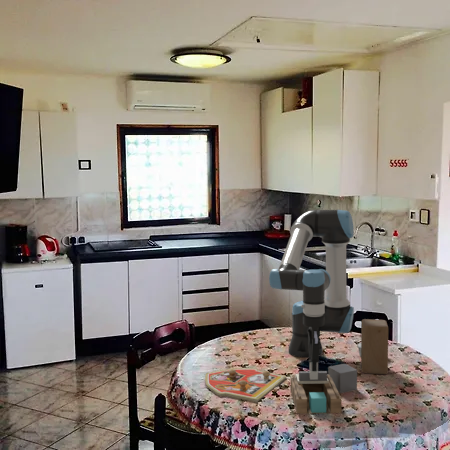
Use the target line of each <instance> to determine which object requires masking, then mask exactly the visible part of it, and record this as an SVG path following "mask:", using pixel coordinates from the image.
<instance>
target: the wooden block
mask: <svg viewBox="0 0 450 450" xmlns="http://www.w3.org/2000/svg"><path fill="white" fill-rule="evenodd" d="M360 326H361V331H360V333H361V337H360V338H361V340H360V343H361V357H360V366H361V372H362V373H363V374H370V375H388V372H389V366H388V365H389V326H388V323H387V320H385V319H369V318H367V319H366V318H364V319H362V320H361V325H360Z"/></svg>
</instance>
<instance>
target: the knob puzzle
mask: <svg viewBox="0 0 450 450" xmlns="http://www.w3.org/2000/svg"><path fill="white" fill-rule="evenodd" d="M286 379H287V376H286V375H283V374H278V373H272V372H270V371H268V370H264V371H263V370H259V369H258V368H253V367H252V368H248V367H247V368H244V367H243V368H227V369H219V370H216V371H214V370H213V371H211V372H206V373H205V377H204V383H206V384H205V387H206V386H207V387H206V388H207V389H208V388H209V389H210V390H211V391H210V390H209V389H208V390H209V391H210V392H212V391H213V392H214V393H215V394H214V393H213V392H212V393H213V394H214V395H216V396H217V395H218V396H217V397H220V396H224V397H227V396H228V398H232V397H233V398H232V399H237V400H241V399H242V401H248V402H251V403H257V404H258V403H259V401H260V400H262V399H263V398H264V397H265V396H266V395H268V394H269V393H270V392H271V391H272V390H273V389H274V388H276V387H278V386H280V384H282V383H283V382H284V381H285V380H286Z"/></svg>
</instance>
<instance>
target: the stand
mask: <svg viewBox="0 0 450 450" xmlns="http://www.w3.org/2000/svg"><path fill="white" fill-rule="evenodd" d="M327 369H328V370H327V375H330V377H331V378H332V380H333V382H334V384H335V386H336V388H337V390H338V393H339V394H343V393H348V392H352V391H357V390H358V369H356V368H354V367H352V366H350V365H349V364H347V363H341V364H337V365H331V366H328V367H327Z"/></svg>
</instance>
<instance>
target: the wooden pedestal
mask: <svg viewBox="0 0 450 450" xmlns="http://www.w3.org/2000/svg"><path fill="white" fill-rule="evenodd" d="M327 378H328V380H329V383H324V384H298V382H297V379H296V374H295V375H294V374H293V375H292V377H290V394H291V397H292V401H293V405H294V408H295V409H294V410H295V412H296V414H297V415H298V414H302V415H303V414H305V415H306V414H307V415H309V414H310V415H311V414H315V415H316V414H320V413H311V410H310V407H309V392H324V394H325V396H326V413H325V414H342V396H341V394H340V393H339V392H338V390H337V388H336V386H335V384H334V382H333V380H332V378H331V377H330V375H328V374H327Z"/></svg>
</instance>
